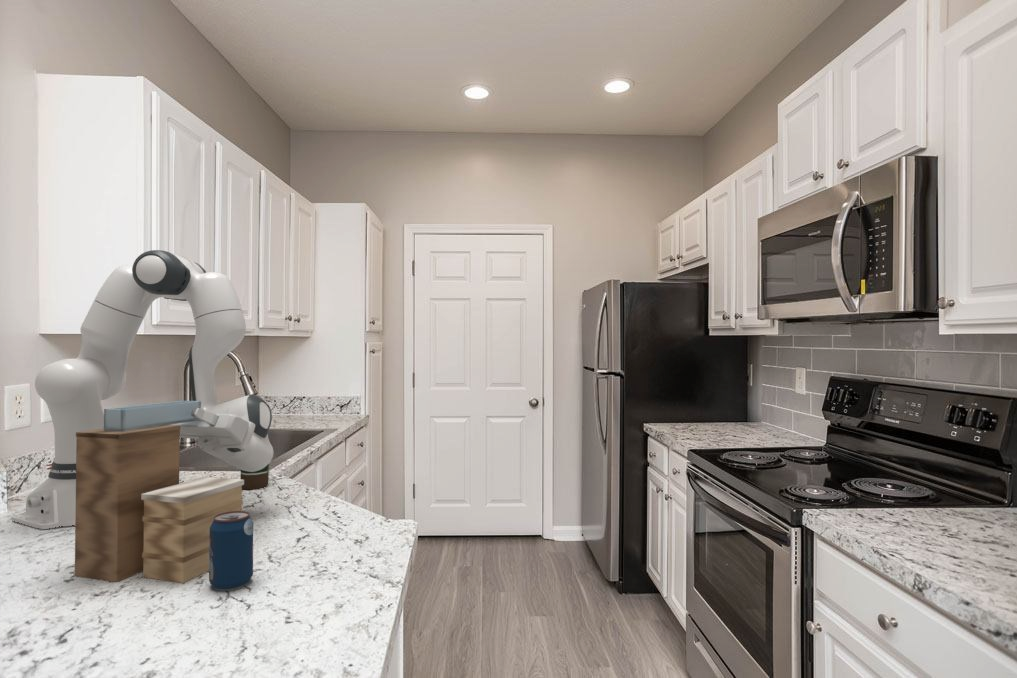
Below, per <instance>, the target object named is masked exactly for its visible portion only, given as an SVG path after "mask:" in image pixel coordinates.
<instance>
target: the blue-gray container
mask: <svg viewBox="0 0 1017 678" xmlns="http://www.w3.org/2000/svg"><path fill="white" fill-rule="evenodd" d="M194 408H201V401H192V400H178V401H170V402H169V401H168V402H159V403H151V404H141V405H131V406H130V405H129V406H121V407H113V408H104V409H103V413H104V431H121V432H123V431H130V430H137V429H143V428H150V427H157V426H164V425H170V424H177V423H184V422H191V421H197V420H200V419H196V418H194V417H192V416H191V412H192V410H193V409H194Z"/></svg>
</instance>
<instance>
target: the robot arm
mask: <svg viewBox="0 0 1017 678" xmlns="http://www.w3.org/2000/svg"><path fill="white" fill-rule="evenodd" d="M161 298H163V299H166V300H173V301H181V302H188V303H189V306H190V309H191V313H192V316H193V320H194V325H195V337H194V342H193V344H192V345H191V347H190V349H189V351H188V367H189V379H190V390H191V391H190V392H191V401H201V408H194V409H193V410H192V412H191V416H192V417H194V418H196V419H200V420H197V421H191V422H184V423H177V424H170V425H181V429H180V439H181V438H182V439H193V440H197V443H198V447H199V448H200V450H202V451H203V452H205V453H207V454H209V455H211V456H213V457H215V458H217V459H218V460H223V461H225V462H226V463H227V464H228V465H229V466H232V467H233V468H237V469H239V470H240V471H241V470H244V471H248V472H255V471H258V470H261V469H263V468H264V467H266V466H267V465H268V464H269V465H270V463H271V461H272V460H273V457H274V453H275V452H274V448H273V445H272V444H271V442H270V439H269V430H270V427H271V424H272V419H273V415H272V410H271V408H270V406H269V404H268V403H267V402H266V401H265V400H264V399H263V398H262V397H260V396H259V395H257V394H248V395H245V396H241V397H238V398H234V399H232V400H229V401H224V402H222V403H218V400H217V391H216V390H217V389H216V379H215V371H216V369H217V367H218V365H219V364H220V363H221V361H222V360H223V359H224V358H225V357H226V356H227V355H228V354H230V353H232V351H234V350H235V349H236V348H237V347H238V346H239V345H241V342H242V341H243V340H244V338H245V335H246V332H247V326H246V324H247V323H246V319H245V315H244V312H243V309H242V305H241V303H240V299H239V297H238V294H237V291H236V289H235V287H234V285H233V283H232V281H231V279H230V278H229V277H228V276H227V275H225V274H223V273H221V272H218V271H217V272H215V271H209V272H207V271H206V269H204V267H203V266H201V265H200V264H199V263H198V262H195V261H193V260H191V259H189V258H187V257H186V256H183V255H180V254H174V253H172V252H169V251H166V250H160V249H153V250H148V251H144V252H142V253H141V254H139V255H138V256H137V257H136V258H135V260H134V261H133V264H132V265H129V264H127V265H126V264H125V265H119V266H117V267H116V268H115V269H114V270H113V271H112V272H111V274H109V275H108V277H107V278H106V280H105V282H103V284H102V286H101V287H100V289H99V290H98V292H97V294H96V296H95V297H94V299H93V302H92V304H91V306H90V308H89V309H88V312H87V314H86V315H85V318H84V320H83V322H82V323H81V326H80V334H81V346H80V350H79V353H78V356H77V357H76V358H63V359H59V360H56V361H54V362H51V363H49V364H47V365H45V366H44V367H42V368H41V369H40V370H39V372H38V373H37V375H36V377H35V379H34V380H35V381H34V388H35V391H36V393H37V395H38V396H39V398H41V399H42V400H43V401H44V402H45V404H46V406H47V408H48V411H49V414H50V418H51V421H52V424H53V425H52V426H53V432H54V461H53V462H52V463H51V464H46V467H47V468H46V470H47V471H48V470H49V472H48V475H47V477H48V478H47V479H45V481H43V482H42V483H41V484H39V486H37V487H36V488H35V489H34V490H32V491H31V492H30V493H28V495H27V497H26V502H25V511H24V512H21V513H18V514H16V515H14V516H13V517H12V520H11V521H12V522H14V521H15V522H14V523H17V522H19V523H18V524H21V523H22V524H21V525H24V524H25V526H28V525H29V527H31V526H32V528H35V529H38V528H39V529H38V530H48V529H49V528H50V529H55V527H56V528H62V527H61V526H63V527H71V526H72V525H74V526H75V517H76V442H77V437H76V432H81V431H88V430H96V429H103V428H104V409H103V406H102V401H104V400H105V401H106V400H108V399H109V398H112V397H113V396H115V395H117V394H118V393H119V392H121V391H122V390H123V389H124V387H125V386H126V384H127V379H128V378H127V377H128V376H127V372H126V368H127V362H128V359H129V354H130V351H131V347H132V345H133V343H134V340H135V337H136V336H137V333H138V332H139V330H140V328H141V326H142V324H143V321H144V319H145V317H146V315H147V313H148V310H149V309H150V307H151V304H153V302H154V301H155V300H157V299H161ZM59 526H60V527H59ZM72 527H73V526H72ZM50 529H49V530H50Z"/></svg>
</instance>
